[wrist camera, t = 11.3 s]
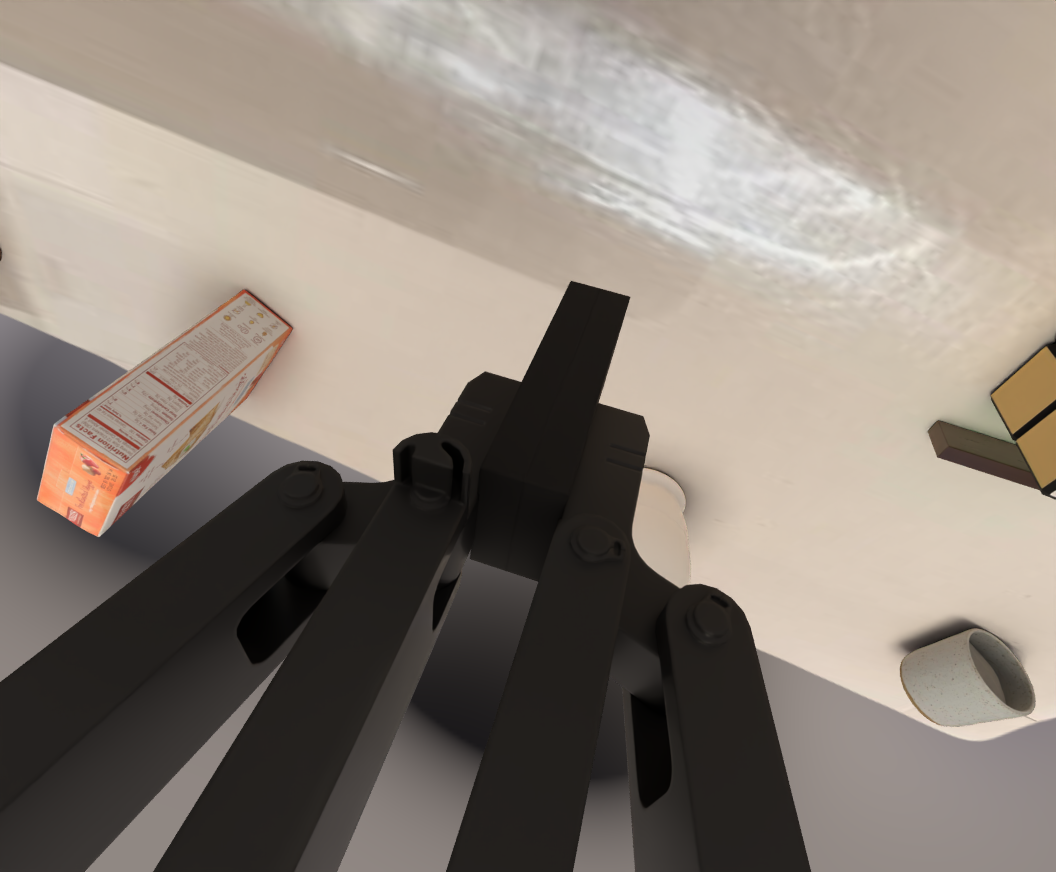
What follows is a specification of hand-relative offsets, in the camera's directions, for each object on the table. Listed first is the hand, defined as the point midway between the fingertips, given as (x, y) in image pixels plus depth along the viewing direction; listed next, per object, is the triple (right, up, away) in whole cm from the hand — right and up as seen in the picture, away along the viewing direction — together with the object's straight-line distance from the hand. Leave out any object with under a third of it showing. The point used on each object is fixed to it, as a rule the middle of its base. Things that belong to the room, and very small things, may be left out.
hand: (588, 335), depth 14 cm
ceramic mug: (+43, -24, +42) cm, 65 cm away
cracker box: (-30, +7, +43) cm, 53 cm away
